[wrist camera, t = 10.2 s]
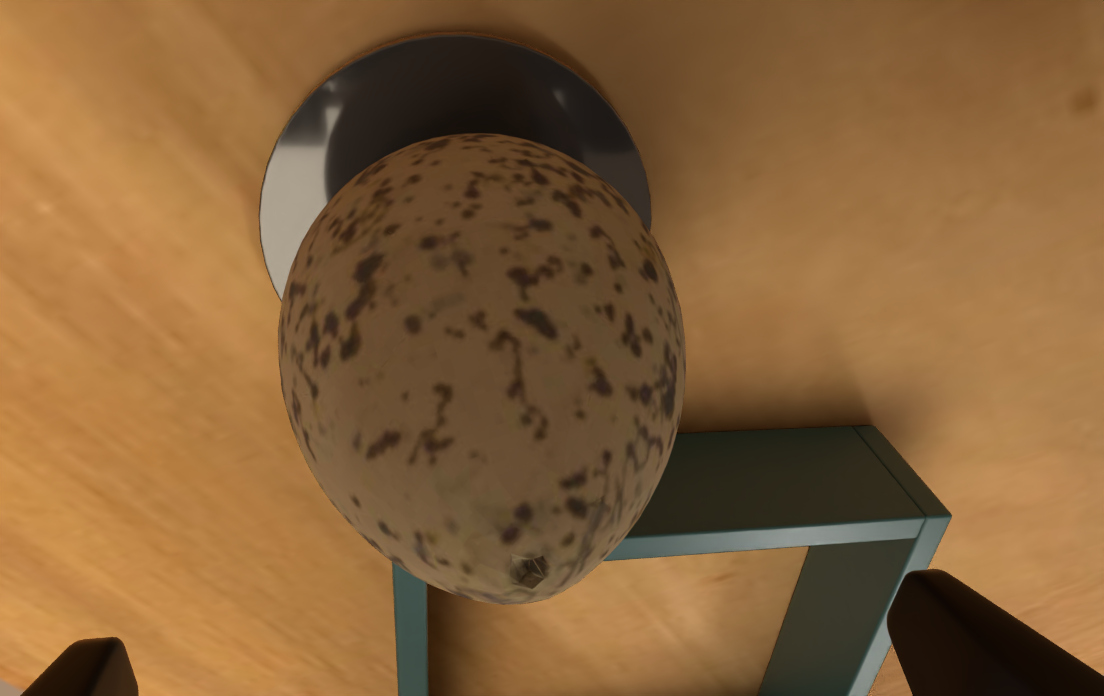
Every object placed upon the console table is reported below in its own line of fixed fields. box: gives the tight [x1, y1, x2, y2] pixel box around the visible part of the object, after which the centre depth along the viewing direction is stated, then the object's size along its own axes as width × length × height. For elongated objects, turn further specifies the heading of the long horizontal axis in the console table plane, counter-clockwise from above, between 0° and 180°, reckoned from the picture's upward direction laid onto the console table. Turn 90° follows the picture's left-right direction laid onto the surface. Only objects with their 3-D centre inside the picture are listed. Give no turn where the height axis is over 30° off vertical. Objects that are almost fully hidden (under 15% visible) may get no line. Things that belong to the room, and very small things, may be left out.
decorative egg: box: [278, 133, 686, 605], centre depth 13 cm, size 7×7×10 cm
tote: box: [392, 425, 952, 696], centre depth 24 cm, size 15×15×4 cm
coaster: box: [259, 32, 651, 302], centre depth 18 cm, size 9×9×1 cm
